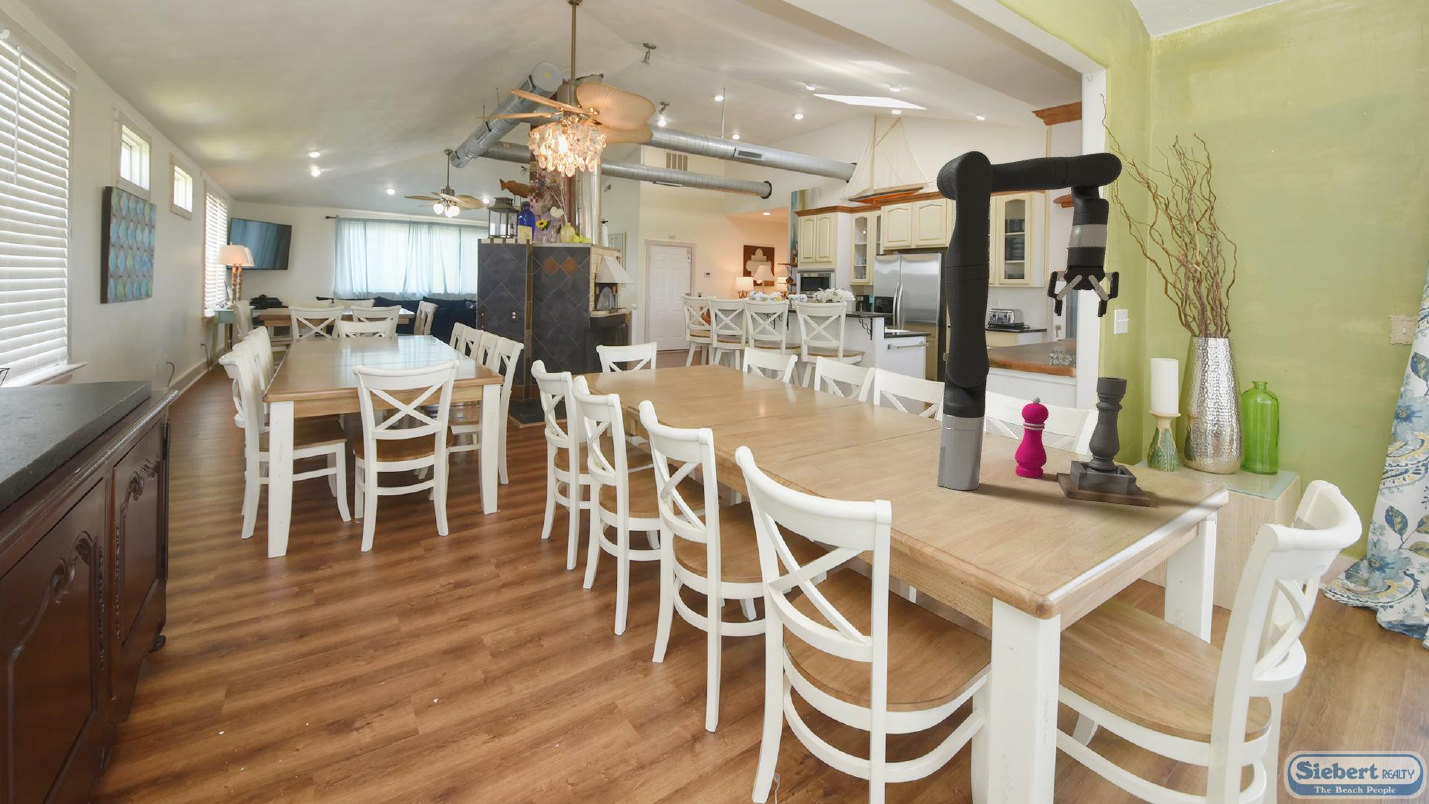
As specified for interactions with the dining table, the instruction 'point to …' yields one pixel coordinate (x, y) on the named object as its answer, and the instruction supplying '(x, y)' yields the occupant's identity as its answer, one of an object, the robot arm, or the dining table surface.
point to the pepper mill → (1032, 441)
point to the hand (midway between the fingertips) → (1079, 316)
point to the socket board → (1102, 485)
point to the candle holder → (1106, 425)
